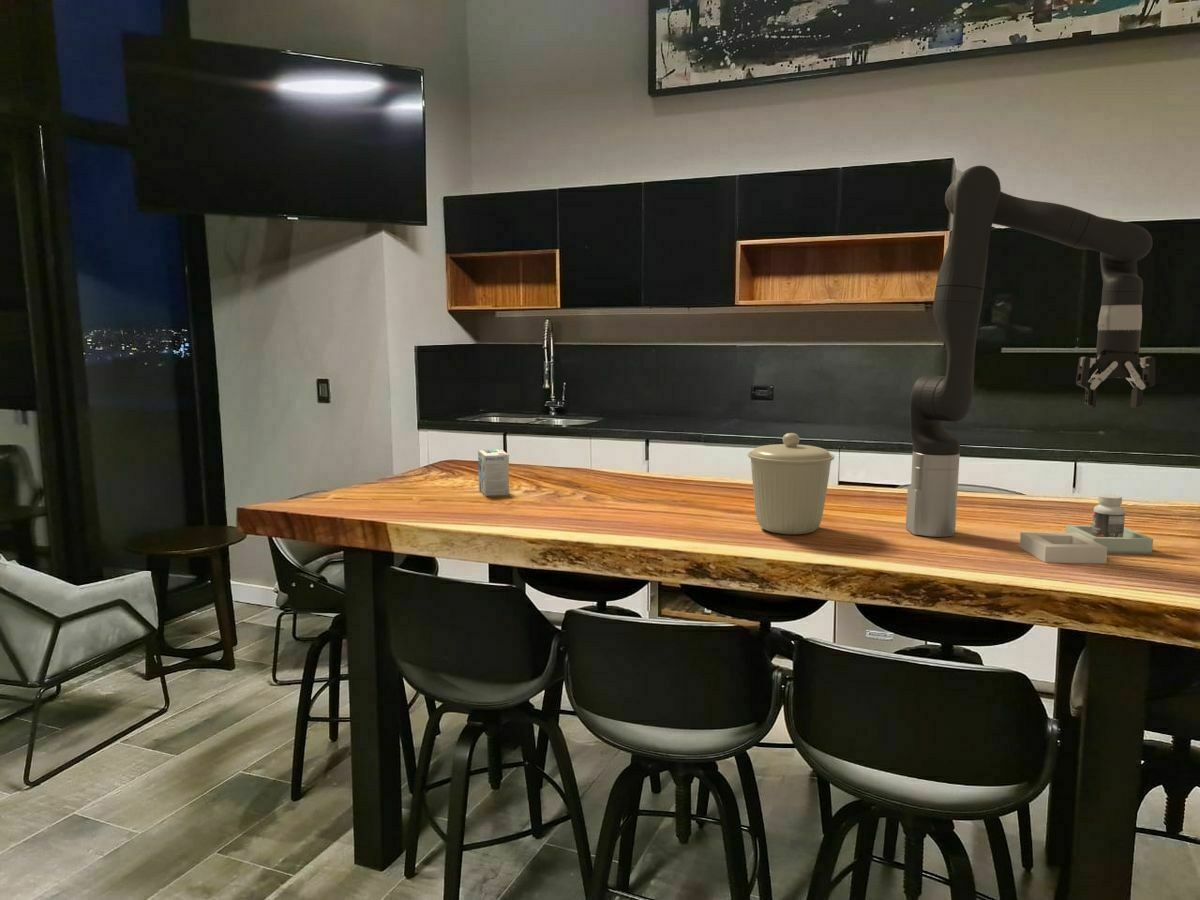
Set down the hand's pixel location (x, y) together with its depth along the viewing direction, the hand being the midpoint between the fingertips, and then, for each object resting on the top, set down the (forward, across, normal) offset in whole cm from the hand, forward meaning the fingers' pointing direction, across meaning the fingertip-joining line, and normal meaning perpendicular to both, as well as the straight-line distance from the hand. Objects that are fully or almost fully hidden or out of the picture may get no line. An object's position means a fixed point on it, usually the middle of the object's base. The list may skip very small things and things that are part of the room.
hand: (1113, 407), depth 174 cm
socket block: (+27, -16, -17) cm, 35 cm away
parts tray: (+27, -4, -10) cm, 29 cm away
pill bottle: (+26, -4, -10) cm, 29 cm away
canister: (+27, -65, -1) cm, 70 cm away
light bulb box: (+26, -138, +36) cm, 145 cm away
